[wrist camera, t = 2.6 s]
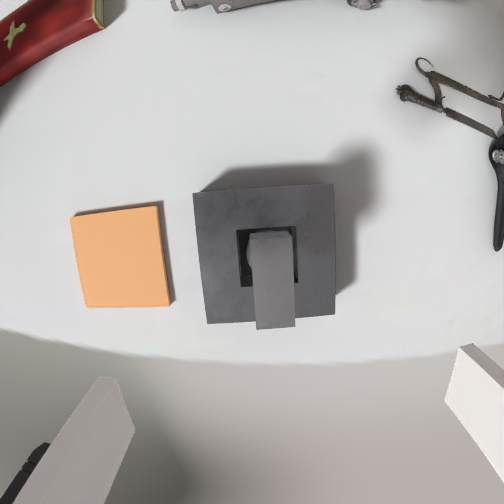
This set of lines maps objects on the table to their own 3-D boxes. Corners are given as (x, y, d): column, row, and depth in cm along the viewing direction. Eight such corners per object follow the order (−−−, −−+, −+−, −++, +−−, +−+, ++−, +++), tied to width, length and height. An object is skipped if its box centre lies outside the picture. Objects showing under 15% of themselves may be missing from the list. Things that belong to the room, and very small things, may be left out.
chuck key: (244, 219, 35) (239, 240, 22) (283, 216, 35) (301, 236, 22) (249, 279, 36) (247, 330, 24) (287, 276, 36) (304, 325, 24)
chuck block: (199, 192, 34) (192, 193, 30) (324, 183, 34) (332, 183, 30) (211, 309, 37) (207, 323, 33) (327, 301, 37) (334, 314, 33)
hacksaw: (393, 99, 32) (398, 96, 30) (394, 33, 30) (398, 29, 28) (516, 152, 32) (522, 152, 31) (515, 94, 30) (521, 92, 29)
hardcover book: (107, 30, 30) (94, 18, 25) (-1, 90, 31) (-17, 85, 26) (106, -25, 27) (96, -38, 23) (4, 34, 28) (-10, 27, 24)
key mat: (73, 216, 35) (69, 217, 34) (157, 205, 34) (155, 205, 34) (89, 305, 37) (86, 307, 36) (171, 303, 37) (169, 306, 36)
